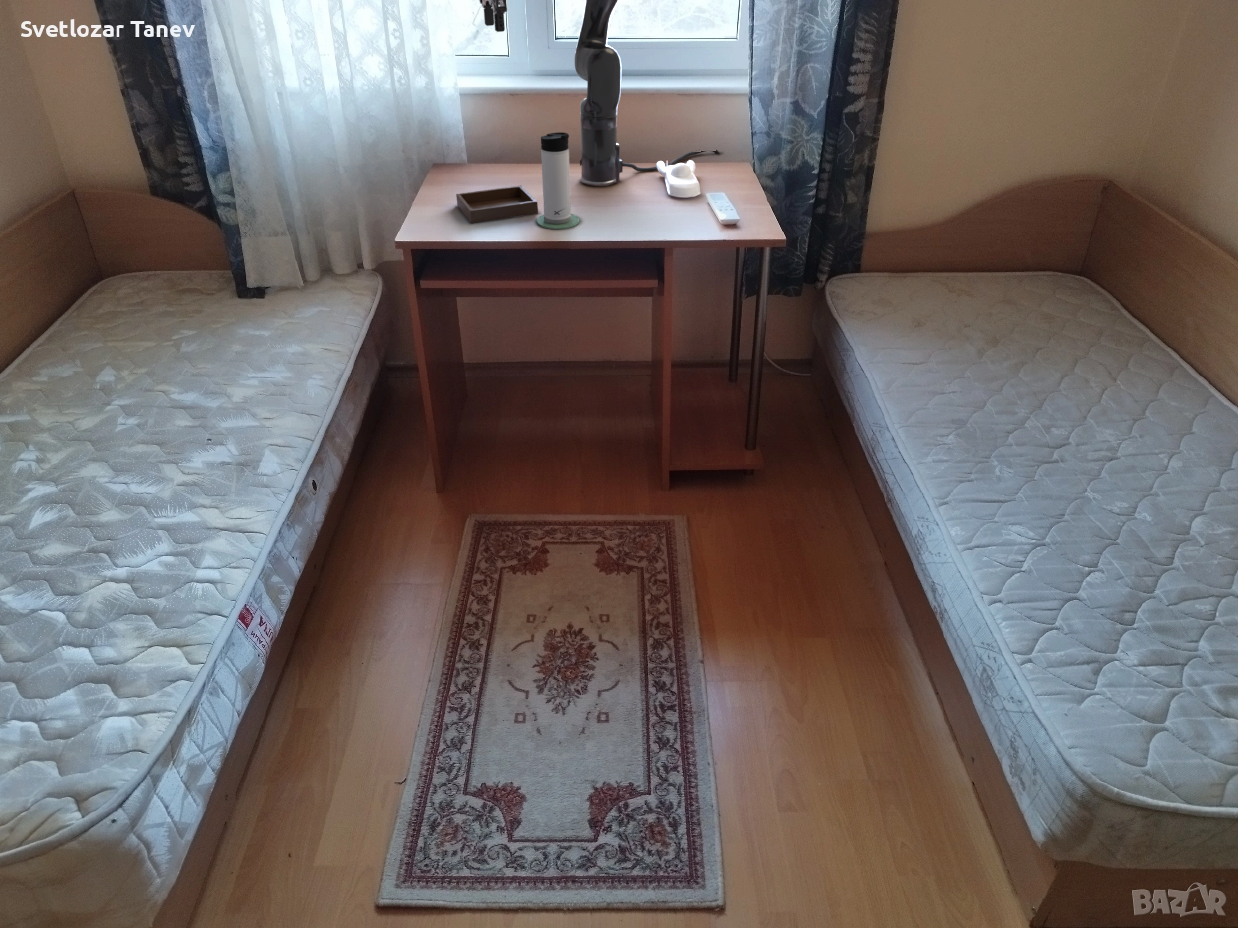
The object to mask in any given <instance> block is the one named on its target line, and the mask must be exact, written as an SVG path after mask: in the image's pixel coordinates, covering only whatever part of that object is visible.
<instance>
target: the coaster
mask: <svg viewBox="0 0 1238 928" xmlns="http://www.w3.org/2000/svg"><path fill="white" fill-rule="evenodd" d="M536 223H537V225H538V226H539V227H541V228H544V229H547V230H548V229H549V230H566V229H571V228H574V227H576V226H577V225H579V223H580V218H579V217H578V216H577V215H575V214H573V213H571V220H570V221H569V222H567V223H565V224H550V223H547V222H546V221H545V220H544V214H541V215H540V216H538V217H537V219H536Z"/></svg>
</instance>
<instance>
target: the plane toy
mask: <svg viewBox="0 0 1238 928" xmlns="http://www.w3.org/2000/svg"><path fill="white" fill-rule="evenodd" d="M668 163H669V162H668V160H666V167H665V162H664V161H662V160H658V161H657V162H656V165H655V167H657V169H658V170H657V171H658V173H659V174H660V175H661V176H663V177H664V182H665V186H666V190H667V193H668V195H669V196H672V197H675V198H695V197H697V196H700V195H701V194H702V193H701V187H700V186H701V185H700V182H699V181H698V179H697V177H696V176H695V172H696V163H695V162H694V161H693V160H690V159H688V161H687V162H686V163H684V162H679V163H678V162H677V163H675V164H674V165H670V166H668Z"/></svg>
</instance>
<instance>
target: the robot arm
mask: <svg viewBox="0 0 1238 928" xmlns="http://www.w3.org/2000/svg"><path fill="white" fill-rule="evenodd" d="M620 1H621V0H585V3H584V10H583V17H582V22H581V26H580V30H579V34H578V39H577V43H576V48H575V54H574V58H573V59H574V60H573V61H574V64H573V65H574V69H575V72H576V74H577V75H578V77H580V78H581V79H582V80H583V81H585V82H586V83H587V84H586V85H587V87H586V88H587V89H586V97H585V98H583V99H582V100H581V101H580V103H579V104H580V105H579V113H580V115H579V116H580V160H579V167H581V169H580V170H581V172H580V173H581V175H580V176H581V177H580V179H581V180H580V181H581V183H583V184H584V185H587V186H591V187H607V186H611V185H614V184H616V183H620V173H622V174H623V167H627V168H631V169H633V170H634V171H636V172H654V171H658V169H657V167H656V166H651V167H638V166H637V165H635V164H634V163H630V162H623V160H622V159H621V157H620V156H621V151H620V150H621V147H620V144H619V143H617V141H618V139H617V138H618V131H617V130H618V128H617V127H618V124H617V123H618V105H619V103H620V99H621V85H622V61H621V57H620V55H619V53H618V51H617V50H616V49H614V48H613V47H611V46H610V45H608V37H609V30H610V24H611V20H612V17H613V16H614V13H615V10H616V9H617V7H618V6H619V3H620ZM479 4H480V5H481V7H482V9H483V18H484V25H485V26H487V27H489V26H492V27H493V26H494V30H495V32H496V33H502V32H505V30H506V28H505V13H507V12H508V5H507V0H479ZM704 152H706V151H701V152H693V151H689V152H686V153H684V154H682V155H680V156H679V157H677V158H675V159H673V160H671V162H668V166H670V165H676V164H678V162H679V163H680V162H681V161H683V160H684V159H686V158H688V157H691V156H695V155H698V154H701V153H704ZM711 153H714V154H716V155H719V154H720V151H719V150H718V149H716V151H711ZM664 164H665V163H664ZM666 164H667V163H666ZM666 164H665V167H666Z"/></svg>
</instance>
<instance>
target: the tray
mask: <svg viewBox="0 0 1238 928" xmlns="http://www.w3.org/2000/svg"><path fill="white" fill-rule="evenodd" d="M455 198H456V205H457V208H458V209H459V210H460V211H461V212H462V214H463V215H464V217H465V218H466V219H467V220H468V221H469V222H470V224H477V223H482V222H483V223H484V222H490V221H491V222H492V221H496V220H497V221H498V220H504V219H511V218H516V217H524V216H532V215H537V214H539V206H538V205H539V204H538V200H537V199H535V197H533V196H532V195H531V193H529V192H528V190H526V189H525V187H523V186H522V185H513V186H505V187H498V188H492V189H484V190H476V191H475V190H474V191H469V192H468V191H467V192H461V193H456V194H455Z"/></svg>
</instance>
